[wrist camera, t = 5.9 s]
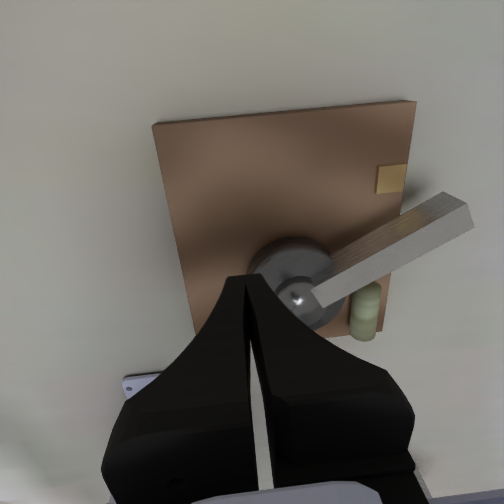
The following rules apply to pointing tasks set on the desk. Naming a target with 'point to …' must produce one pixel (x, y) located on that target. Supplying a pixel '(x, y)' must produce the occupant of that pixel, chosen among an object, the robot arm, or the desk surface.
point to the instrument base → (284, 193)
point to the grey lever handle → (355, 258)
